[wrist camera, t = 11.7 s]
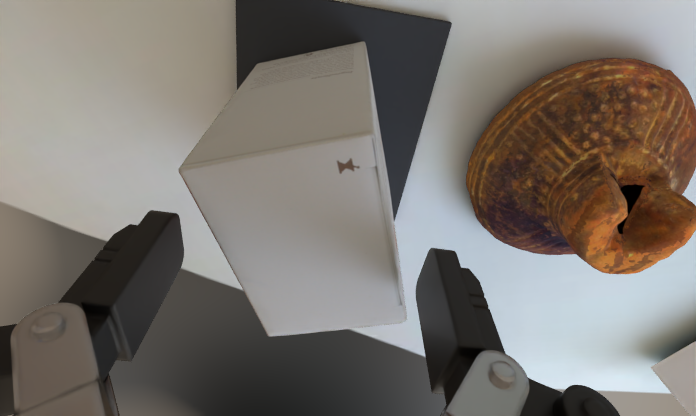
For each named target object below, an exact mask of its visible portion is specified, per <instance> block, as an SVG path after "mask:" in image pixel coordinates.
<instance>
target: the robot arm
mask: <svg viewBox="0 0 696 416" xmlns="http://www.w3.org/2000/svg"><path fill="white" fill-rule="evenodd" d="M183 257H184V247H183V240H182V232H181V225H180V218H179V215H178V214H176V213H169V212H161V211H154V210H151V211H149V212H148V213H147V214H146V216H145V217H144V218H143V220H142V221H141V222H140V224H139V225H131V224H130V225H128V226H127V227H125V228H123V229H122V230H120V231H119V232H117V233H115V234H114V235H113V236H112V237H111V239H110V240H109V241H108V242H107V243H106V245H105V246H104V248H103V250H101V251H100V252H99V253H98V254H97V256H96V257H95V260H94V261H92V262H91V263H90V264H89V266H88V267H87V268H86V269H85V271H84V272H83V273H82V274H81V275H80V277H79V278H78V279H77V280H76V282H75V283H74V284H73V285H72V286H71V288H70V289H69V290H68V291H67V292H66V294H65V295H64V296H63V297H62V299H61V300H60V301H59V302H58V303H55V304H50V305H46V306H44V307H41V308H39V309H37V310H35V311H33V312H31V313H29V314H28V315H27V316H25V317H24V318H23V319H22V320H21V321H20V322H18V324H14V325H8V326H1V327H0V416H8V415H12V414H14V415H13V416H119V411H118V408H117V403H116V399H115V395H114V391H113V387H112V383H111V379H110V376H109V371H110V370H111V368H112V366H113V364H114V362H115V361H116V360H121V361H132V359H133V357H134V355H135V353H136V351H137V349H138V348H139V345H140V344H141V342H142V340H143V338H144V336H145V334H146V332H147V331H148V329H149V327H150V325H151V323H152V321H153V319H154V317H155V315H156V314H157V312H158V310H159V308H160V306H161V304H162V302H163V300H164V299H165V297H166V295H167V293H168V291H169V289H170V287H171V285H172V284H173V281H174V280H175V278H176V276H177V274H178V272H179V270H180V268H181V266H182V262H183ZM416 301H417V307H418V313H419V319H420V325H421V331H422V337H423V343H424V349H425V355H426V361H427V367H428V372H429V378H430V385H431V390H432V393H435V394H445V399H446V404H447V405H446V406H445V408H444V410H443V412H442V413H441V415H440V416H620V415H619V413H618V412H617V410H616V409H615V408H614V406H613V405H612V404H611V403H610V402H609V401H608V400H607V399H606V398H605V397H603V396H602V395H601V394H600V393H598V392H597V391H595V390H593V389H591V388H589V387H586V386H582V385H572V386H570V387H568V388H567V389H566V390H565V391H564V392H563V393H562V392H560V391H557V390H555V389H552V388H550V387H547V386H545V385H543V384H540V383H538V382H535V381H533V380H531V379H529V378H528V377H527V375H526V373H525V371H524V370H523V368H522V367H521V366H520V365H519V364H518V363H517V362H516V361H515V360H514V359H513V358H511V357H510V356H508V355H506V354H505V351H504V349H503V346H502V343H501V340H500V337H499V335H498V332H497V329H496V326H495V324H494V321H493V318H492V315H491V312H490V310H489V309H488V304H487V301H486V299H485V298H484V293H483V290H482V287H481V285H480V282H479V280H478V279H477V278H476V277H475V276H474V274H473V273H472V272H471V271H470V269H467V268H461V267H460V263H459V260H458V257H457V254H456V252H455V251H451V250H444V249H436V248H431V249H430V250H429V252H428V254H427V257H426V260H425V262H424V265H423V267H422V270H421V273H420V275H419V278H418V281H417V285H416Z"/></svg>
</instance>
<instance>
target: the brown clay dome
mask: <svg viewBox="0 0 696 416" xmlns="http://www.w3.org/2000/svg"><path fill="white" fill-rule="evenodd" d="M695 168H696V109H695V106H694V103H693V100H692V98H691V96H690V94H689V91H688V89H687V88H686V87H685V85H684V84H683V83H682V82H681V81H680V80H679V79H678V77H676V76H675V75H674V74H673V73H672V71H670V70H664V69H663V68H660V67H658V66H656V65H653V64H649V63H646V62H643V61H640V60H637V59H618V58H606V59H599V60H589V61H584V62H579V63H576V64H573V65H570V66H568V67H566V68H564V69H561V70H558V71H555V72H553V73H551V74H549V75H547V76H544V77H543V78H541V79H539V80H538V81H537V82H536V83H534V84H532V85H531V86H529V87H527V88H526V89H524V90H523V91H522V92H520V93H519V94H518V95H517V96H516V97H515V98H513V99H512V100H511V101H510V103H509V104H508V105H507V106H506V107H505V108H504V109H502V110H501V111H500V112H499V113H498V114H497V115H496V116H495V117H494V119H493V120H492V121H491V123H490V124H489V126H488V127H487V129H486V130H485V131H484V132H483V134H482V136H481V137H480V139H479V141H478V142H477V144H476V147H475V149H474V151H473V153H472V155H471V158H470V161H469V164H468V172H467V176H466V185H467V188H468V191H469V195H470V199H471V202H472V205H473V208H474V211H475V215H476V217H477V219H478V221H479V222H480V223H481V225H482V226H483V227H484V228H485V229H486V230H487V231H489V232H490V233H491V234H492V235H493V236H494V237H495V238H496V239H498V240H500V241H502V242H503V243H505V244H508V245H510V246H513V247H515V248H518V249H521V250H525V251H529V252H532V253H538V254H546V255H562V254H577V255H578V256H579V257H580V258H581V259H583V260H584V261H585V262H587V263H588V264H589V265H591V266H592V267H593V268H595V269H597V270H599V271H601V272H604V273H609V274H631V273H638V272H641V271H643V270H644V269H646V268H649V267H651V266H652V265H654V264H656V263H657V262H658V261H660V260H662V259H665V258H667V257H669V256H670V255H671V254H672V253H673V252H675V251H676V250H677V249H679V248H680V247H682V246H684V245H685V244H686V243H687V241H688V240H689V239H690V238H691V236H692V235H693V233H694V232H695V230H696V206H695V205H694V204H693V203H692V202H691V201H689V200H688V199H686V198H685V197H684V196H682V194H683V192H684V191H685V189H686V188H687V186H688V184H689V181H690V179H691V178H692V176H693V173H694V171H695Z"/></svg>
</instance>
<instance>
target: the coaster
mask: <svg viewBox="0 0 696 416" xmlns="http://www.w3.org/2000/svg"><path fill="white" fill-rule="evenodd" d="M451 25H452V23H451V22H448V21H443V20H437V19H432V18H426V17H421V16H415V15H410V14H404V13H399V12H393V11H388V10H382V9H377V8H371V7H366V6H360V5H355V4H349V3H344V2H338V1H333V0H236V44H237V90H238V88H239V87H240V86H241V84H242V83H243V82H244V81H245V79H246V78H247V77H248V75H249V74H250V72H251V71H252V70H253V69H254V67H255V66H256V65H257V64H258V63H263V62H268V61H272V60H277V59H281V58H286V57H291V56H295V55H300V54H305V53H310V52H315V51H320V50H324V49H329V48H334V47H339V46H344V45H349V44H353V43H358V42H362V41H364V42H365V44H366V48H367V54H368V60H369V66H370V72H371V78H372V84H373V90H374V96H375V102H376V108H377V115H378V121H379V127H380V133H381V139H382V145H383V151H384V157H385V162H386V168H387V174H388V180H389V187H390V194H391V202H392V210H393V217H394V221H395V217H396V214H397V210H398V207H399V203H400V200H401V197H402V193H403V190H404V186H405V183H406V179H407V176H408V172H409V169H410V166H411V162H412V159H413V155H414V152H415V148H416V145H417V142H418V138H419V135H420V131H421V128H422V124H423V121H424V117H425V114H426V111H427V107H428V104H429V100H430V97H431V93H432V90H433V86H434V83H435V80H436V76H437V73H438V69H439V66H440V62H441V59H442V55H443V52H444V49H445V45H446V42H447V38H448V35H449V31H450V28H451Z"/></svg>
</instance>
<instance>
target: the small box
mask: <svg viewBox="0 0 696 416" xmlns="http://www.w3.org/2000/svg"><path fill="white" fill-rule="evenodd" d="M179 173H180V175H181V176H182V178H183V180H184V182H185V183H186V185H187V187H188V189H189V191H190V193H191V194H192V196H193V198H194V200H195V202H196V204H197V206H198V207H199V209H200V211H201V213H202V215H203V217H204V219H205V220H206V222H207V224H208V226H209V227H210V229H211V231H212V233H213V235H214V237H215V239H216V240H217V242H218V244H219V246H220V248H221V249H222V251H223V253H224V255H225V257H226V259H227V260H228V262H229V264H230V266H231V268H232V270H233V272H234V274H235V275H236V277H237V279H238V281H239V283H240V285H241V286H242V288H243V290H244V292H245V294H246V296H247V297H248V299H249V301H250V303H251V305H252V307H253V308H254V310H255V312H256V314H257V316H258V318H259V320H260V322H261V324H262V326H263V327H264V329H265V331H266V333H267V335H268V336H282V335H294V334H303V333H312V332H322V331H332V330H341V329H351V328H361V327H370V326H380V325H389V324H398V323H403V322H405V321H406V320H407V312H406V304H405V297H404V290H403V283H402V275H401V268H400V261H399V253H398V246H397V239H396V232H395V225H394V217H393V210H392V202H391V194H390V187H389V180H388V174H387V168H386V162H385V157H384V151H383V145H382V139H381V133H380V127H379V121H378V115H377V108H376V102H375V96H374V90H373V84H372V78H371V72H370V66H369V60H368V54H367V48H366V44H365V42H364V41H362V42H358V43H353V44H349V45H344V46H339V47H334V48H329V49H324V50H320V51H315V52H310V53H305V54H300V55H295V56H291V57H286V58H281V59H277V60H272V61H268V62H263V63H258V64H257V65H256V66H255V67H254V69H253V70H252V71H251V72H250V74H249V75H248V77H247V78H246V79H245V81H244V82H243V83H242V84H241V86H240V87H239V88H238V90H237V91H236V92H235V94H234V95H233V97H232V98H231V99H230V100H229V102H228V103H227V104H226V106H225V107H224V109H223V110H222V111H221V113H220V114H219V115H218V117H217V118H216V119H215V121H214V122H213V123H212V125H211V126H210V127H209V129H208V130H207V131H206V132H205V134H204V135H203V136H202V138H201V139H200V140H199V142H198V143H197V145H196V146H195V147H194V149H193V150H192V151H191V153H190V154H189V155H188V157H187V158H186V159H185V161H184V162H183V164H182V165H181V167H180V168H179Z"/></svg>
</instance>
